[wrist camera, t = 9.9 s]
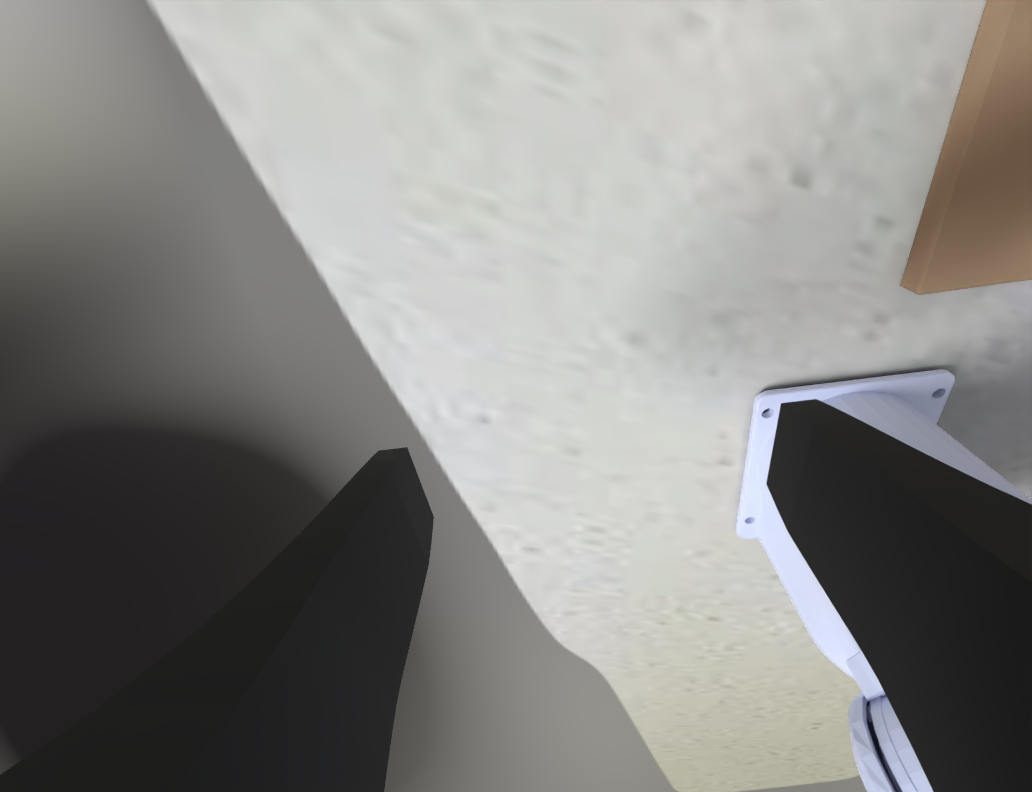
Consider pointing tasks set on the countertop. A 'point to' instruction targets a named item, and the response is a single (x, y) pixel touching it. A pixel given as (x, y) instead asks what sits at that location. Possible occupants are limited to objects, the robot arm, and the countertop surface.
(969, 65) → the walnut board
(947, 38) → the countertop surface
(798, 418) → the robot arm
